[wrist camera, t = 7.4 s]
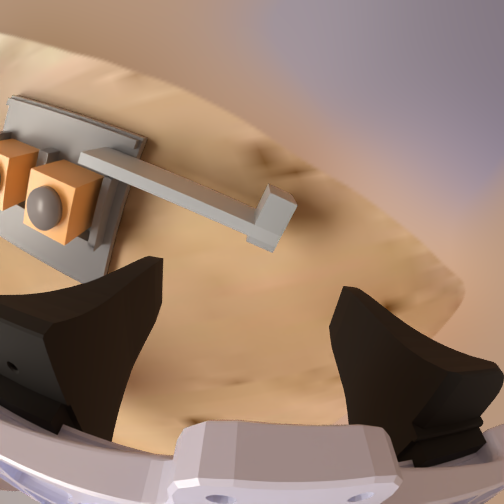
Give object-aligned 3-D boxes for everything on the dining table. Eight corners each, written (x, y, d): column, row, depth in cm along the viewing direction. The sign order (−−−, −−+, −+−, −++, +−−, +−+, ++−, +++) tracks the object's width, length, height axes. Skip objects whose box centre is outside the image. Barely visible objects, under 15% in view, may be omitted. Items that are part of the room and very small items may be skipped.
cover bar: (290, 192, 19) (297, 205, 16) (269, 232, 20) (272, 252, 17) (116, 119, 17) (90, 120, 14) (102, 160, 18) (76, 168, 15)
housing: (147, 138, 19) (135, 139, 17) (104, 287, 23) (92, 301, 21) (17, 95, 16) (0, 95, 14) (-5, 227, 21) (-19, 235, 19)
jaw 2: (104, 176, 19) (70, 190, 15) (92, 225, 20) (59, 249, 16) (63, 159, 18) (25, 169, 14) (53, 207, 20) (18, 225, 15)
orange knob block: (42, 150, 18) (3, 159, 14) (33, 197, 19) (-3, 213, 15) (12, 138, 17) (-25, 146, 13) (5, 182, 19) (-31, 196, 14)
